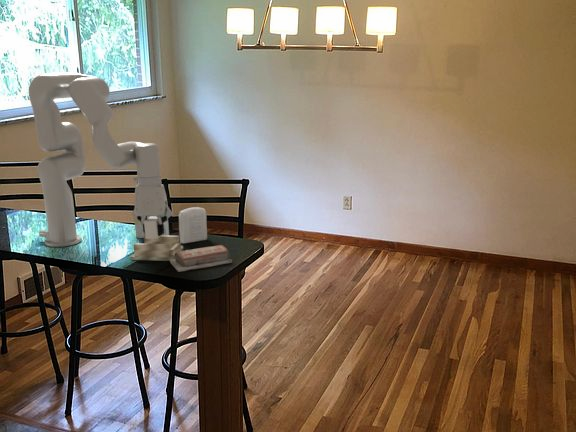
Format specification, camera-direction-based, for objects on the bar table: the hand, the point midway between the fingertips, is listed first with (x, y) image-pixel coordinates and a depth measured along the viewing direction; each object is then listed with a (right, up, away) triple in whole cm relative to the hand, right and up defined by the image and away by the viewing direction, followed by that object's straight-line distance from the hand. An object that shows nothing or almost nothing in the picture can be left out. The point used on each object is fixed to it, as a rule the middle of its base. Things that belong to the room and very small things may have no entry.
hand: (153, 234), depth 201 cm
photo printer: (+11, -3, +16) cm, 20 cm away
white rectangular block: (0, -1, +1) cm, 1 cm away
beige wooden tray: (+1, -7, +2) cm, 7 cm away
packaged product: (+17, -10, -7) cm, 21 cm away
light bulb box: (-5, -2, +22) cm, 23 cm away
